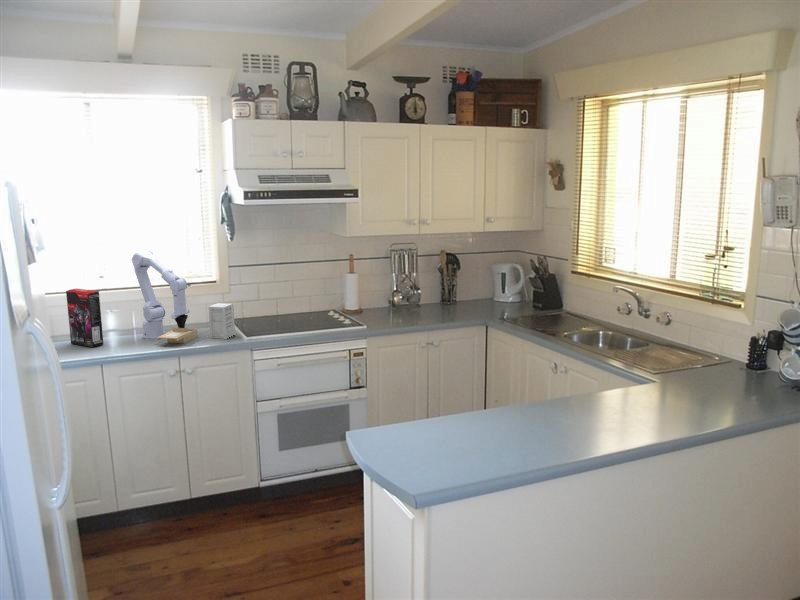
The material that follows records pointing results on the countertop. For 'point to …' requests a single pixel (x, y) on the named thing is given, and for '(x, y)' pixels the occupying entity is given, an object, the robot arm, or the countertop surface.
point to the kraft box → (185, 339)
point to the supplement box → (221, 320)
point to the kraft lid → (176, 334)
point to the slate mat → (189, 343)
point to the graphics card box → (84, 317)
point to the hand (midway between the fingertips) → (181, 329)
